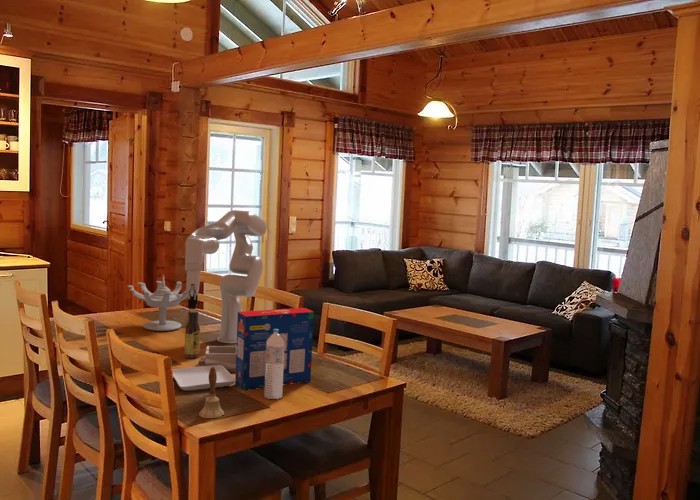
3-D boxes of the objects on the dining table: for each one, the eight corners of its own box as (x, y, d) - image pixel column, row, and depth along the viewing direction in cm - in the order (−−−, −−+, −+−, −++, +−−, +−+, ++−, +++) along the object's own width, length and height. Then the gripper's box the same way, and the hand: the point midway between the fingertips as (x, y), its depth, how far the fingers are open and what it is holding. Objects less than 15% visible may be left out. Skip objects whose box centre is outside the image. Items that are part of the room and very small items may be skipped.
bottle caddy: (200, 360, 270) (201, 344, 269) (243, 360, 273) (244, 344, 273) (198, 373, 252) (198, 356, 252) (244, 373, 256) (244, 356, 255)
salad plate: (179, 395, 228) (180, 386, 228) (167, 377, 247) (167, 368, 246) (237, 389, 238) (237, 380, 237) (221, 372, 256) (221, 364, 256)
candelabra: (211, 329, 324) (213, 276, 321) (149, 339, 298) (150, 282, 295) (173, 317, 346) (174, 267, 343) (112, 325, 320) (113, 272, 317)
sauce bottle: (195, 359, 270) (196, 313, 268) (181, 358, 272) (182, 312, 270) (201, 355, 277) (203, 310, 275) (188, 354, 278) (189, 309, 276)
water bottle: (264, 393, 233) (266, 326, 230) (282, 394, 234) (285, 327, 231) (263, 400, 226) (265, 331, 224) (282, 400, 227) (285, 332, 224)
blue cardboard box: (301, 375, 257) (304, 307, 253) (310, 381, 250) (313, 311, 247) (235, 384, 242) (237, 311, 239) (243, 390, 235) (245, 316, 232)
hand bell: (222, 419, 207) (224, 371, 205) (197, 418, 206) (198, 370, 204) (225, 410, 215) (227, 364, 213) (201, 409, 214) (202, 363, 213)
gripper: (186, 263, 278) (185, 302, 279) (183, 269, 261) (181, 310, 262) (204, 264, 279) (202, 303, 281) (202, 269, 262) (200, 310, 264)
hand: (192, 306), depth 271 cm, fingers open, 9 cm apart
